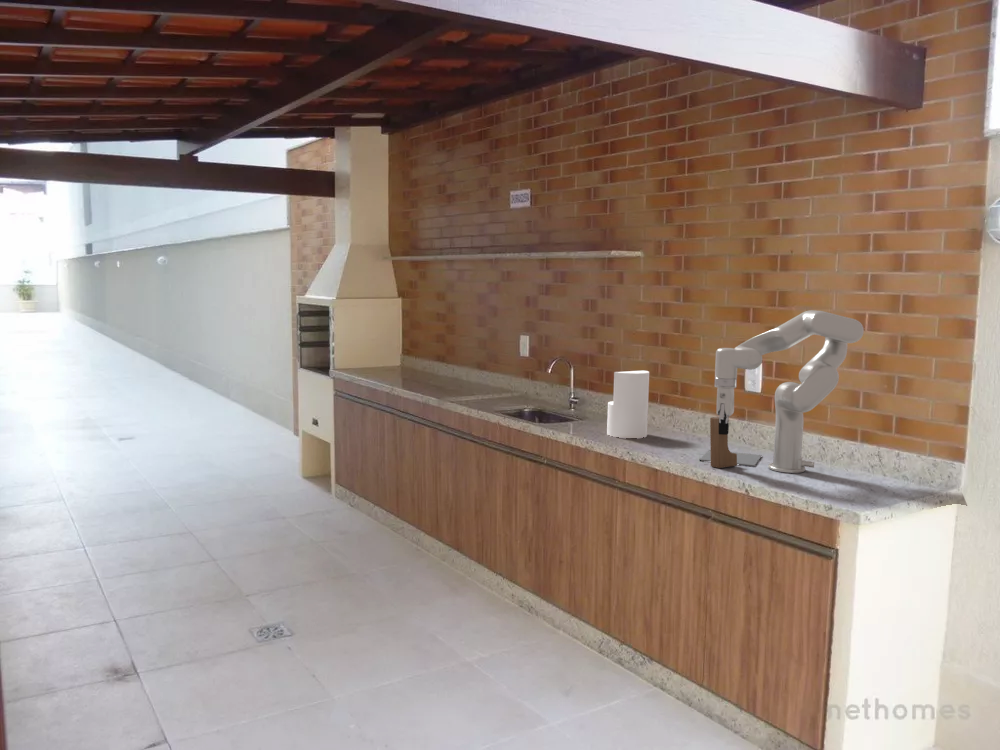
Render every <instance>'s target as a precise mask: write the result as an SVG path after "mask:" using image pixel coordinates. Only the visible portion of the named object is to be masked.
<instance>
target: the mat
mask: <svg viewBox="0 0 1000 750" xmlns="http://www.w3.org/2000/svg"><path fill="white" fill-rule="evenodd" d="M730 452H731V453H736V454H737V464H739V465H738V466H741V465H747V466H746V467H751V466H754V467H753V468H755V467H756V465H758V463H759V461H760V460H761V459H762V457H763V456H762V454H755V453H745V452H744V453H743V452H737V451H736V452H735V451H730ZM761 456H762V457H761ZM759 459H760V460H759ZM699 460H701V461H700V462H704V461H711V449H709V450H708V451H706V452H705V453H704V454H703V455H702V456H701V457H700V458H699V459H698V461H699ZM757 462H758V463H757Z"/></svg>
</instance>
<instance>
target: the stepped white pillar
mask: <svg viewBox="0 0 1000 750" xmlns="http://www.w3.org/2000/svg"><path fill="white" fill-rule="evenodd" d="M649 391H650V371H648V370H630V371H629V370H628V371H627V370H626V371H614V372H613V393H612V396H613V397H612V398H613V399H612V401H608V402H607V420H606V425H607V426H606V435H607V436H608V435H610V436H609V437H611V436H613V437H612V438H616V437H619V438H618V439H626V438H637V439H642V438H643V437H644V438H646V437H648V418H649V417H648V416H649V415H648V414H649ZM644 438H643V439H644Z"/></svg>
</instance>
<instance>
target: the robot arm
mask: <svg viewBox="0 0 1000 750" xmlns="http://www.w3.org/2000/svg"><path fill="white" fill-rule="evenodd" d="M864 330H865V329H864V326H863V324H862V323H861V322H860V321H859V320H858V319H855V318H852V317H847V316H843V315H839V314H835V313H831V312H828V311H824V310H815V309H814V310H813V309H812V310H811V309H809V310H806V311H803V312H801V313H800V314H798V315H796V316H794V317H793V318H791V319H789V320H787V321H786V322H784V323H782V324H780V325H779V326H776V327H774V328H773V329H770V330H768V331H767V330H766V331H765V332H763V333H760V334H758V335H756V336H753V337H751V338H749V339H747V340H746V341H745V340H744V342H742V343H740V344H739V345H737V346H735V347H734V348H733V347H720V348H717V350H715V362H714V363H715V365H714V366H715V367H714V388H717V389H716V415H717V416H718V417H719V434H722V435H729V427H730V423H729V420H730V417H731V416H732V415H733V414H734V412H735V389H736V388H737V386H738V383H737V381H738V369H741V370H755V369H757V368H759V367H760V366H761V364H762V363H763V355H766V354H769V353H774V352H780V351H785V350H788V349H790V348H792V347H794V346H795V345H797V344H799V343H801V342H802V341H804V340H806V339H808V338H809V337H811V336H813V335H814V336H815V335H816V336H821V337H824V343H823V346H822V348H821V349H820V350H819V351H818V353H817V354H815V355H814V356H813V357H811V359H810V360H808V361H807V363H805V365H803V366H802V367H801V368H800V370H799V372H798V380H799V381H800V383H799V382H794V381H786V382H782V383H780V384H779V386H777V387H776V390H775V392H774V406H775V409H774V410H775V424H774V442H773V443H774V444H773V461H772V462H771V463H769V464H768V465H767V468H769V470H772V471H775V472H780V473H785V474H787V473H789V474H791V473H792V474H799V473H804V472H805V471H806V467H807V468H812V469H813V468H815V461H810V460H805V459H804V457H803V456H802V455H803V453H802V452H803V437H804V422H805V421H804V413H807V412H811V411H812V410H813V409H814V408H815V407H817V406H818V405H819V404H820V403H821V402H822V401H824V399H825V398H826V397H828V396H829V395H830V393H832V392H833V390H835V388H836V387H837V385H838V383H839V378H840V374H839V371H838V370H837V369H838V368H840V366H841V365H842V364H843V363H844V361H845V359H846V358H847V353H848V344H853V343H854V344H855V343H857V342H859V341H860V340H861V339H862V337H863V335H864Z"/></svg>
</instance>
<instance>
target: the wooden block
mask: <svg viewBox="0 0 1000 750" xmlns="http://www.w3.org/2000/svg"><path fill="white" fill-rule="evenodd" d="M709 419H710V420H709V421H710V424H709V426H710V427H709V429H710V432H709V433H710V436H709V437H710V442H709V443H710V445H709V446H710V450H711V462H710V467H711V466H712V468H716V469H722V468H723V469H724V468H729V467H737V466H738V465H737V454H736V453H737V452H736V453H731V452H732V451H730V449H729V444H728V443H729V441H728V440H729V437H728V435H729V434H728V435H722V434H719V416H714V417H713V416H712V417H710V418H709Z"/></svg>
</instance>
